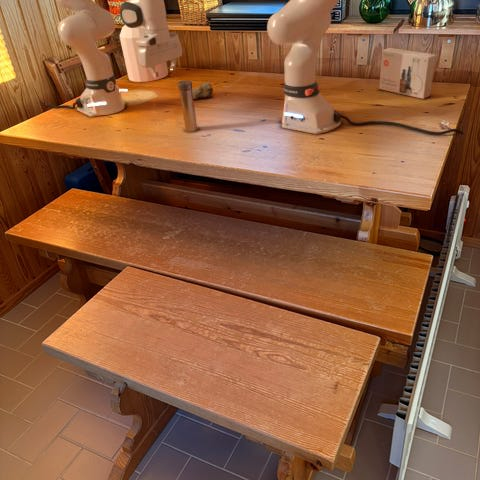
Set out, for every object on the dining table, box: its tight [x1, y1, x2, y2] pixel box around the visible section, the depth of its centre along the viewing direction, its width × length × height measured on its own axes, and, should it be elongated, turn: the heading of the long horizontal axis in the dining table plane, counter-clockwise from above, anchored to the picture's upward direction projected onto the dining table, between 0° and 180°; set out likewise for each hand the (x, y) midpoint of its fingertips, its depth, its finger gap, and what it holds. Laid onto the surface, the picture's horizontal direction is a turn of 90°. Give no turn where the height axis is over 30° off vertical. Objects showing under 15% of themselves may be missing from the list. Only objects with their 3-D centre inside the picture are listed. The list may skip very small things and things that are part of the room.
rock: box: [192, 81, 214, 100], centre depth 206 cm, size 11×6×10 cm
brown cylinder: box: [178, 88, 198, 133], centre depth 170 cm, size 4×4×17 cm
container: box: [119, 24, 169, 83], centre depth 235 cm, size 21×21×28 cm
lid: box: [177, 79, 193, 91], centre depth 166 cm, size 5×5×2 cm
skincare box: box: [378, 47, 437, 100], centre depth 184 cm, size 21×6×16 cm, turn 40°
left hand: (164, 73), depth 183 cm, fingers open, 8 cm apart
